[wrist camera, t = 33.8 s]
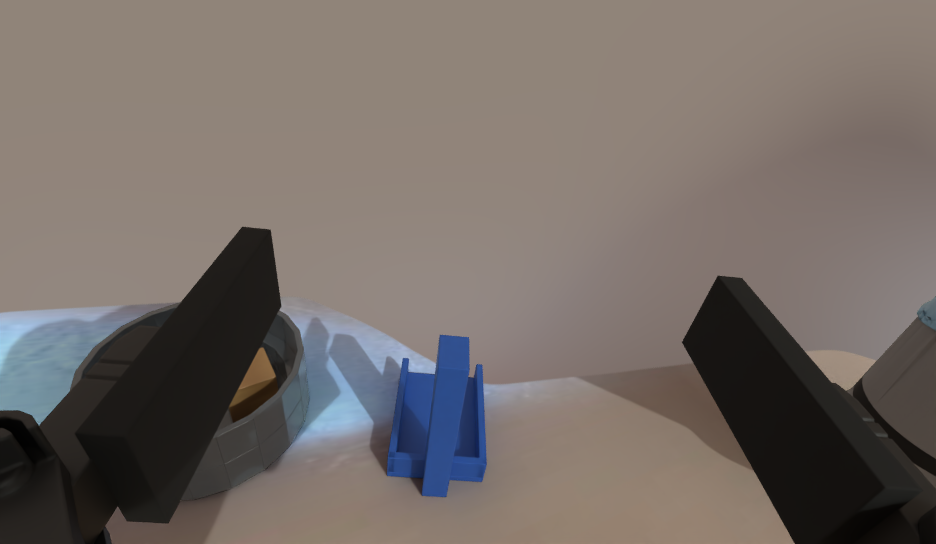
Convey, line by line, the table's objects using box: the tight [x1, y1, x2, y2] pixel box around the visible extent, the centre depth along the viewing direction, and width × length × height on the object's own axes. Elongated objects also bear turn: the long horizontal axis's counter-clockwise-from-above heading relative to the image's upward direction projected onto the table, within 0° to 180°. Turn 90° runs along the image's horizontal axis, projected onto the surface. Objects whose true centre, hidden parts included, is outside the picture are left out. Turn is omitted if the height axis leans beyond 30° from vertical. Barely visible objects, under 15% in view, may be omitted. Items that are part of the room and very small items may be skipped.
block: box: [228, 348, 278, 423], centre depth 41 cm, size 4×4×4 cm
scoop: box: [387, 335, 487, 497], centre depth 38 cm, size 12×8×15 cm, turn 1°
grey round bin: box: [70, 302, 309, 500], centre depth 38 cm, size 16×16×7 cm
